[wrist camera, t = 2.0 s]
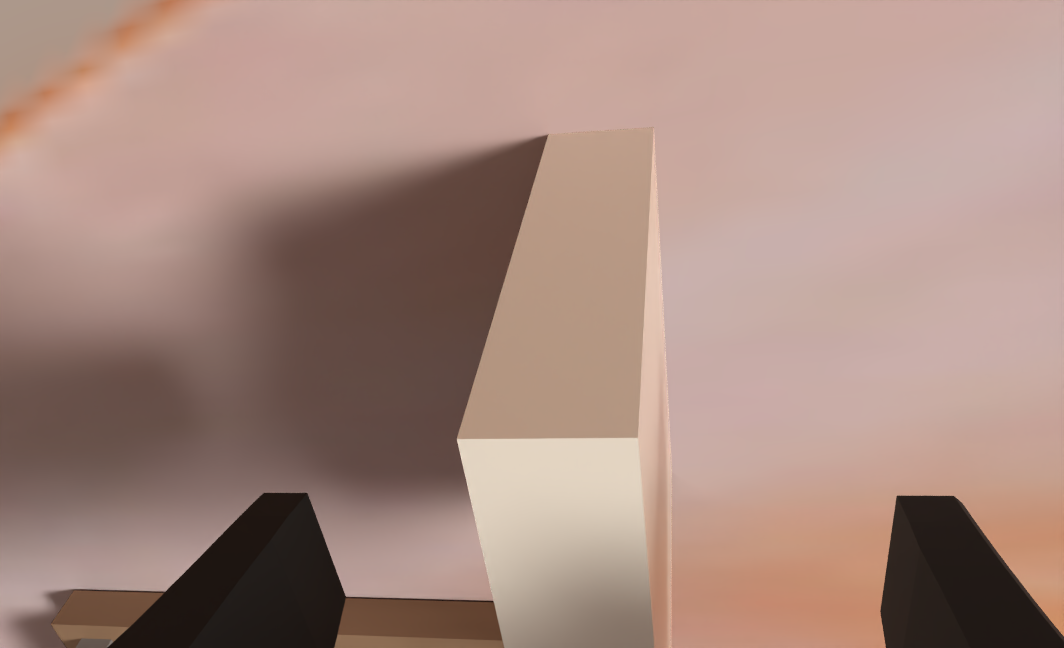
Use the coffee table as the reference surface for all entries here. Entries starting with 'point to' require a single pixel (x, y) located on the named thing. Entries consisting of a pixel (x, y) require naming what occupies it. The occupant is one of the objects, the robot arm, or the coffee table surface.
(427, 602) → the dish rack
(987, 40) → the coffee table surface
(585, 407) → the upright cream panel
